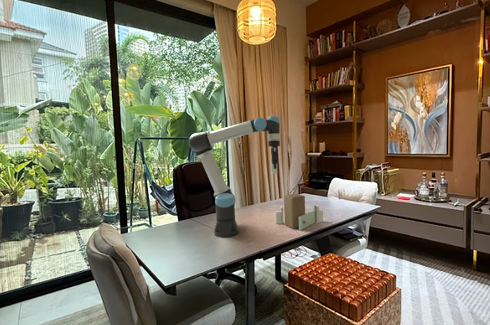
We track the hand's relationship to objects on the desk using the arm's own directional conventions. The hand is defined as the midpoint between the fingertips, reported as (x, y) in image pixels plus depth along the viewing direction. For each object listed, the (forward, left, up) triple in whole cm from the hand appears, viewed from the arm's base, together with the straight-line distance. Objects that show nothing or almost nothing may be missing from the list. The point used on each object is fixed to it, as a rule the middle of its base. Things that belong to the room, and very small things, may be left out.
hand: (274, 172), depth 174 cm
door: (+20, -8, -34) cm, 40 cm away
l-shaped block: (+16, +1, -34) cm, 38 cm away
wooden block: (+11, -6, -34) cm, 37 cm away
